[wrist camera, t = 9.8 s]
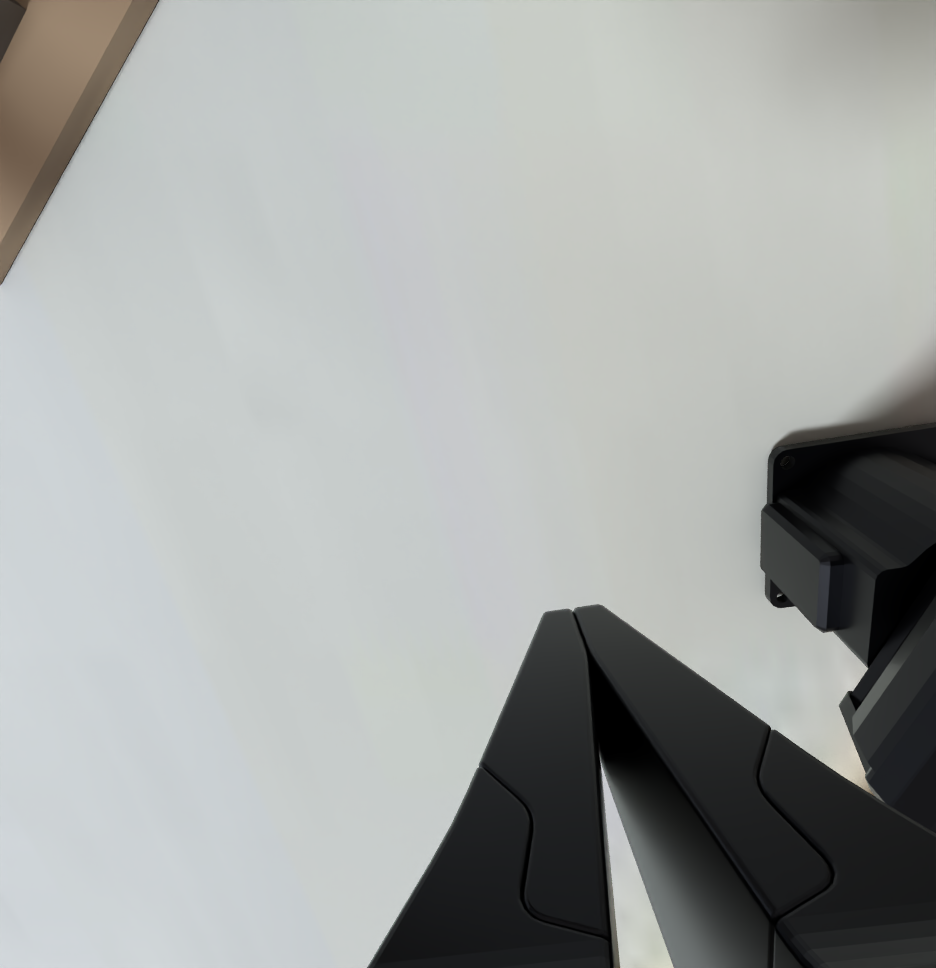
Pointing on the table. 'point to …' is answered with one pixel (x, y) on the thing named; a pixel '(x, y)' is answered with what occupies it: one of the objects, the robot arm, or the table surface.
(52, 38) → the button stand
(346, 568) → the table surface
